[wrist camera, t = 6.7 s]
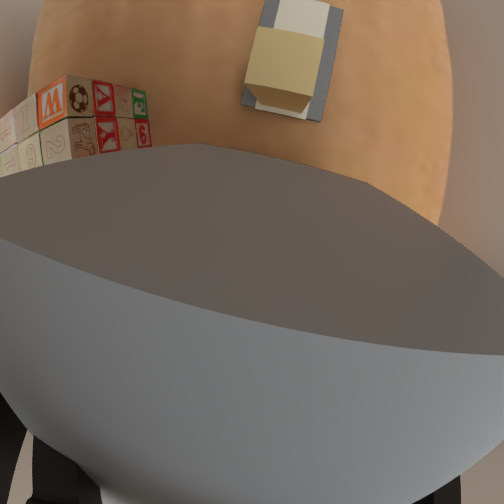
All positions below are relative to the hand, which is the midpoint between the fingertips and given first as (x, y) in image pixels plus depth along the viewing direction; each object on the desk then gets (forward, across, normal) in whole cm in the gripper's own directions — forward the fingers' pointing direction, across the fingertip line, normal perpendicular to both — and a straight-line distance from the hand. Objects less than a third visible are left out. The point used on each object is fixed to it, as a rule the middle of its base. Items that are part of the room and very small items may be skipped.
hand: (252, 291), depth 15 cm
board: (+13, -1, +16) cm, 21 cm away
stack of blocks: (+13, -24, +5) cm, 28 cm away
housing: (+2, 0, 0) cm, 2 cm away
